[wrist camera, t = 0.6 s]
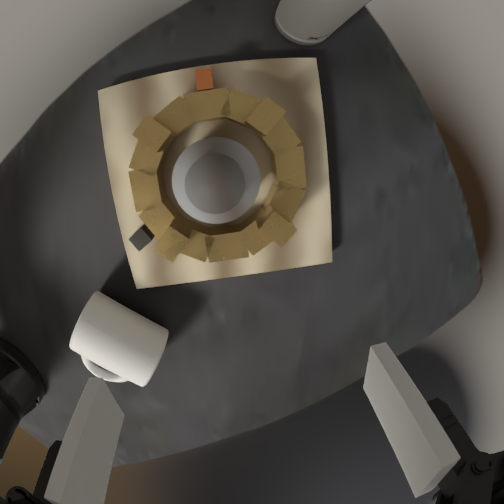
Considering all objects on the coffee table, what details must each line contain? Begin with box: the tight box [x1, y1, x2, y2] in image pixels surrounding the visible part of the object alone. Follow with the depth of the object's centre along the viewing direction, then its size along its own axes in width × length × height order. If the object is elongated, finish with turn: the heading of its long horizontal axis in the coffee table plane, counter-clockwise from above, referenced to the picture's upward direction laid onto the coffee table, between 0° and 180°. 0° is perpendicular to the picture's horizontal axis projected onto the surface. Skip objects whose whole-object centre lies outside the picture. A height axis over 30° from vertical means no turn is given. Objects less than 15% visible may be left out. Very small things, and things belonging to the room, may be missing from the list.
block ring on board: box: [98, 58, 332, 289], centre depth 26 cm, size 22×22×10 cm
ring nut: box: [128, 67, 307, 263], centre depth 25 cm, size 16×18×5 cm
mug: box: [69, 291, 169, 387], centre depth 32 cm, size 12×10×8 cm
